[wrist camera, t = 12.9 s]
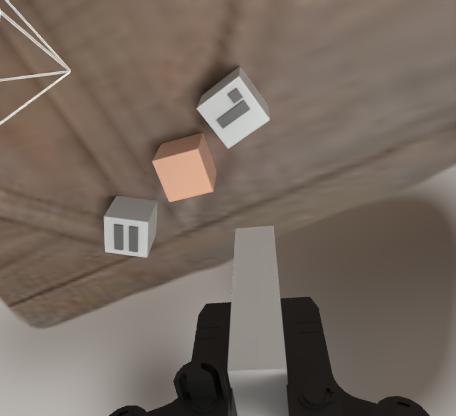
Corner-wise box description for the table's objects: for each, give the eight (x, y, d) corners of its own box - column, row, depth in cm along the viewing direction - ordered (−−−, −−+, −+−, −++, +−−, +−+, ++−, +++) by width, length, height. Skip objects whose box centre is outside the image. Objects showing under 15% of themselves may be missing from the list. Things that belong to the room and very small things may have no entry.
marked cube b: (230, 131, 43) (228, 149, 38) (202, 95, 41) (196, 109, 37) (267, 105, 41) (270, 120, 37) (240, 65, 39) (238, 76, 35)
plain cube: (176, 181, 46) (169, 202, 42) (161, 143, 44) (151, 161, 40) (216, 171, 46) (213, 191, 41) (203, 132, 43) (197, 148, 39)
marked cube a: (117, 228, 50) (104, 253, 46) (116, 195, 48) (102, 217, 43) (156, 233, 50) (146, 258, 46) (157, 200, 48) (147, 223, 43)
